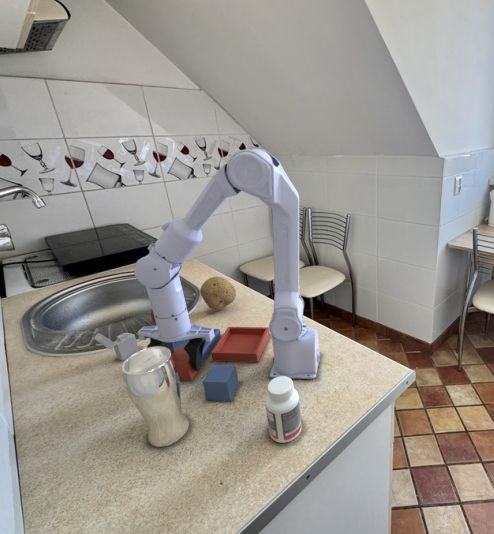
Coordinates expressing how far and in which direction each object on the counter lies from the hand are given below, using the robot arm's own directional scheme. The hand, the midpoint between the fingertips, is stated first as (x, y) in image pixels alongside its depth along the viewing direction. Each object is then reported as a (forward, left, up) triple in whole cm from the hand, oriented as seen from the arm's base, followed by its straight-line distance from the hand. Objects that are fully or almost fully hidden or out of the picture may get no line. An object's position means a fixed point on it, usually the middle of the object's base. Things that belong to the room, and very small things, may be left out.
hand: (185, 367), depth 67 cm
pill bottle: (-24, +13, -2) cm, 27 cm away
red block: (0, 0, -1) cm, 1 cm away
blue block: (-10, +5, -1) cm, 11 cm away
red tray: (-9, -9, -1) cm, 13 cm away
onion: (+14, -17, -2) cm, 22 cm away
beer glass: (-4, +14, -2) cm, 15 cm away
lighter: (+17, -4, -2) cm, 18 cm away
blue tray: (+3, -8, -1) cm, 9 cm away
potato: (+3, -26, -2) cm, 26 cm away
